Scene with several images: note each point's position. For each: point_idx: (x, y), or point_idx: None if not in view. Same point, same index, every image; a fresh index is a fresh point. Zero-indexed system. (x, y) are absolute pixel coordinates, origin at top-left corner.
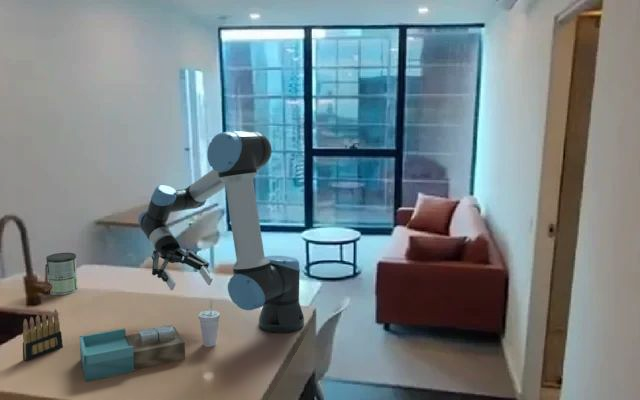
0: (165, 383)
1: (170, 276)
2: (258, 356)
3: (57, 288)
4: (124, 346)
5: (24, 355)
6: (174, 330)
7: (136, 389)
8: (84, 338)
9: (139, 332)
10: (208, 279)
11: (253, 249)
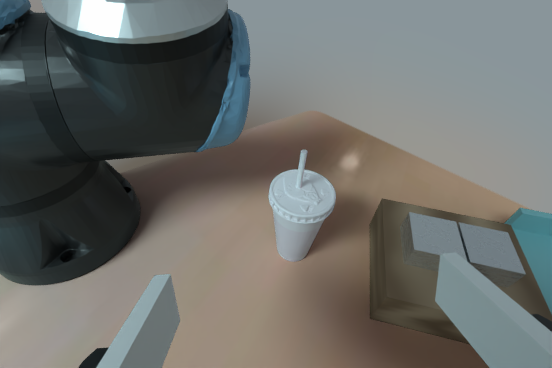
0: (422, 180)
1: (500, 300)
2: (246, 158)
3: None
4: (543, 278)
5: None
6: (410, 212)
7: (471, 191)
8: None
9: (519, 259)
10: (168, 307)
11: None
